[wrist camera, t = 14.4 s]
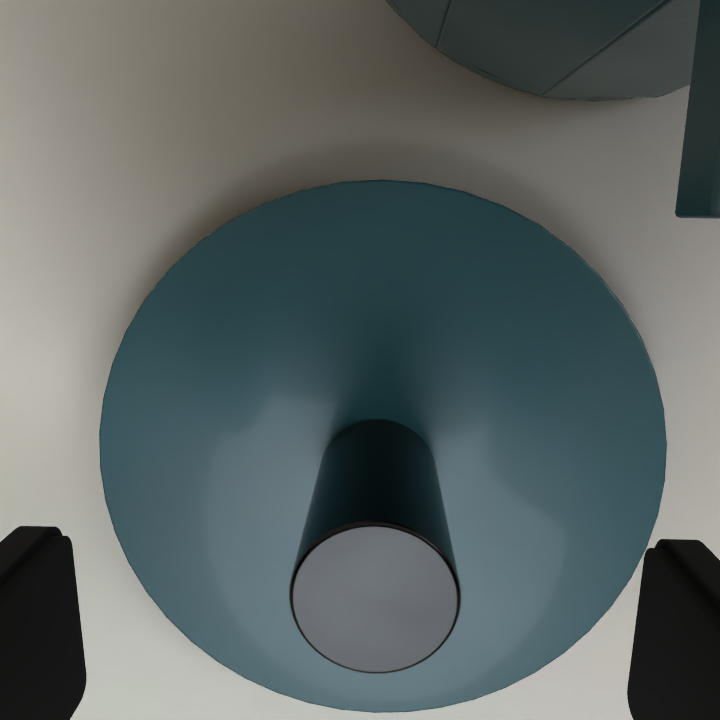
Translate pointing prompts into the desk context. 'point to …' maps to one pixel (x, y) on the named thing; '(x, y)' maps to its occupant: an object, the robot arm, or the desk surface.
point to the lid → (382, 446)
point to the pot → (596, 61)
